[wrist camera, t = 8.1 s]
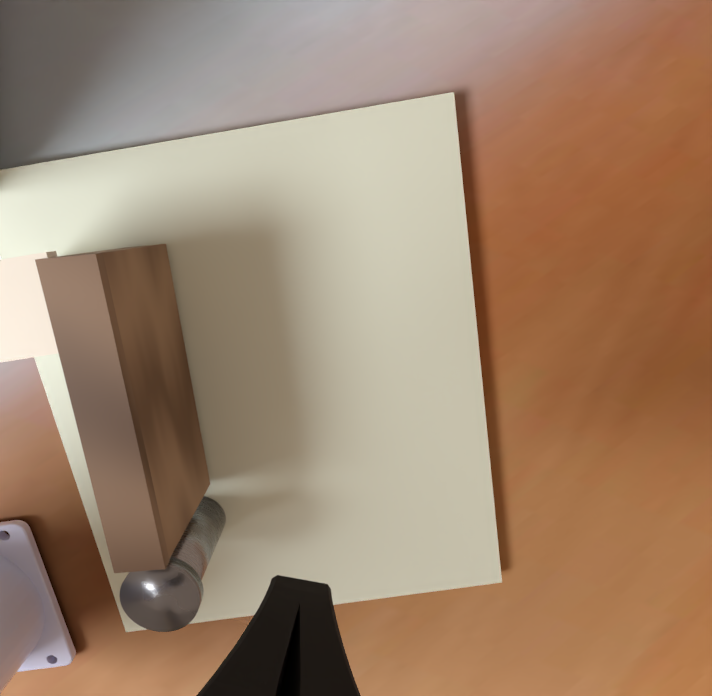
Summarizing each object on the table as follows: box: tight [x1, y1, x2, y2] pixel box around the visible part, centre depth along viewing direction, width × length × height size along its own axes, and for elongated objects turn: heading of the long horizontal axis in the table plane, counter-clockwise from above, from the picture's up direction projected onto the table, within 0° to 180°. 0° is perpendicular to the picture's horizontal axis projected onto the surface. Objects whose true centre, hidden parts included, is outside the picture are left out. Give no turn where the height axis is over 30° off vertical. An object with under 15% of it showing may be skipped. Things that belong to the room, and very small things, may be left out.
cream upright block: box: [0, 251, 58, 362], centre depth 18 cm, size 3×3×6 cm
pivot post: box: [119, 496, 226, 632], centre depth 20 cm, size 3×3×6 cm
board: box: [0, 92, 502, 632], centre depth 21 cm, size 18×21×1 cm
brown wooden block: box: [35, 244, 210, 573], centre depth 18 cm, size 10×2×5 cm, turn 5°
